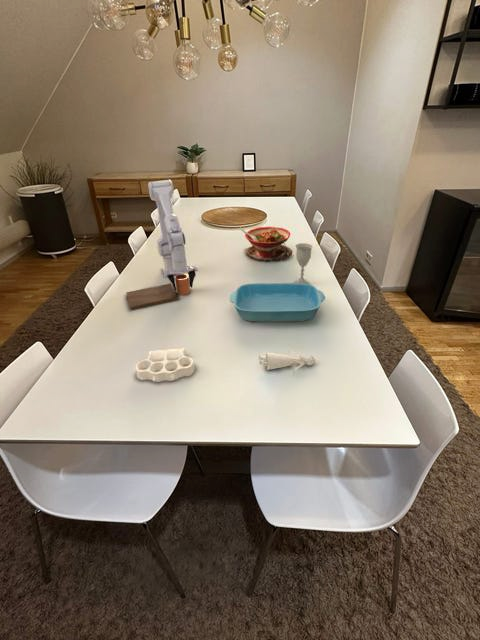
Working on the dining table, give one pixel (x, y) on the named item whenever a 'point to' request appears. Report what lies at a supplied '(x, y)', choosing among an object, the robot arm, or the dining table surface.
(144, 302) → the serving board
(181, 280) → the tumbler
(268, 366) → the woman figurine
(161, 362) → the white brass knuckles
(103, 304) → the dining table surface
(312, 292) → the casserole dish
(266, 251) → the stew
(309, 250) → the chalice
